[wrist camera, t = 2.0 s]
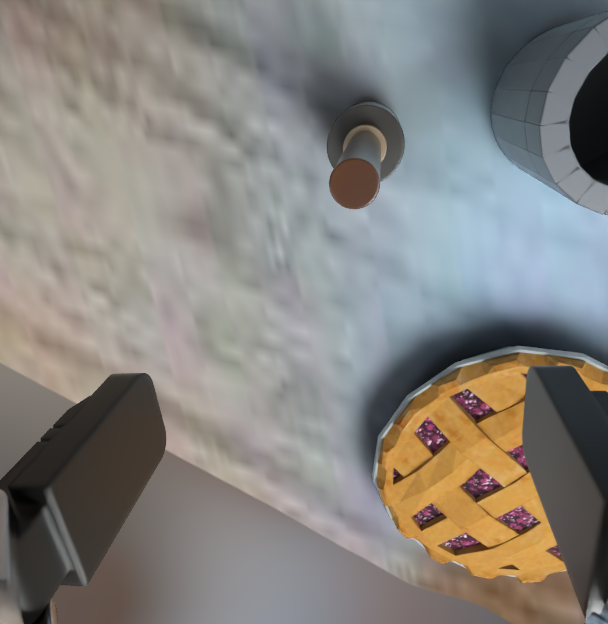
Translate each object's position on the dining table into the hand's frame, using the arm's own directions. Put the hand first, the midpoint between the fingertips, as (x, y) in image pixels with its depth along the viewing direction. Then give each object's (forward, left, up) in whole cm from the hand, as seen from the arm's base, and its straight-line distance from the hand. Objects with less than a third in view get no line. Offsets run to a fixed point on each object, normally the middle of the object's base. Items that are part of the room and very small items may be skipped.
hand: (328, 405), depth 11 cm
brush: (-2, +2, -26) cm, 26 cm away
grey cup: (+6, +11, -26) cm, 29 cm away
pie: (+23, -9, -26) cm, 36 cm away
